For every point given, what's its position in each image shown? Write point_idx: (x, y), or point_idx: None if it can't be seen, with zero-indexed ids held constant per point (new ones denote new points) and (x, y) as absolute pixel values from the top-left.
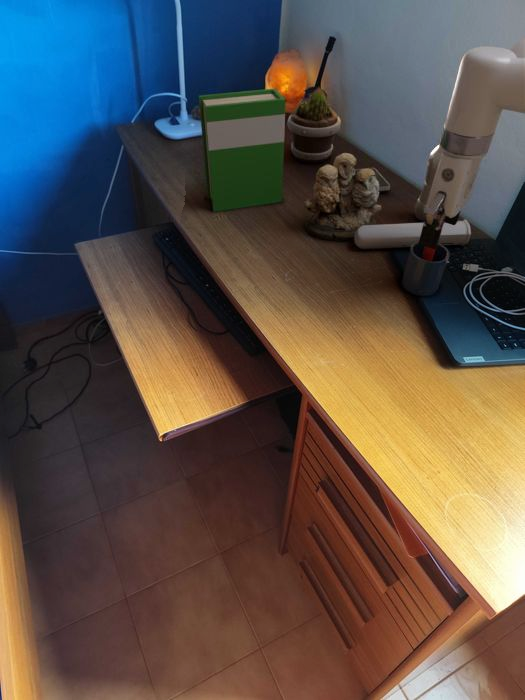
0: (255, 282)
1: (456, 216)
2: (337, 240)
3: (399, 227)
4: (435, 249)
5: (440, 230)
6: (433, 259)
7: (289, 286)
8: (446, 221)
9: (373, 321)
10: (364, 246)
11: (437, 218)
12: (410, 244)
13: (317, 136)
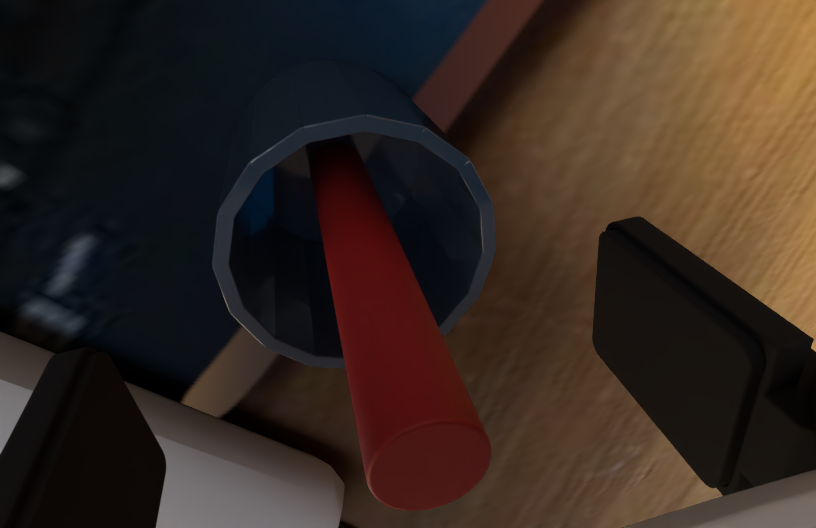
0: (691, 478)
1: (71, 434)
2: (343, 525)
3: None
4: (237, 258)
5: (804, 340)
6: (240, 215)
7: None
8: (137, 424)
9: (691, 141)
10: (327, 464)
11: (395, 499)
12: None
13: None
